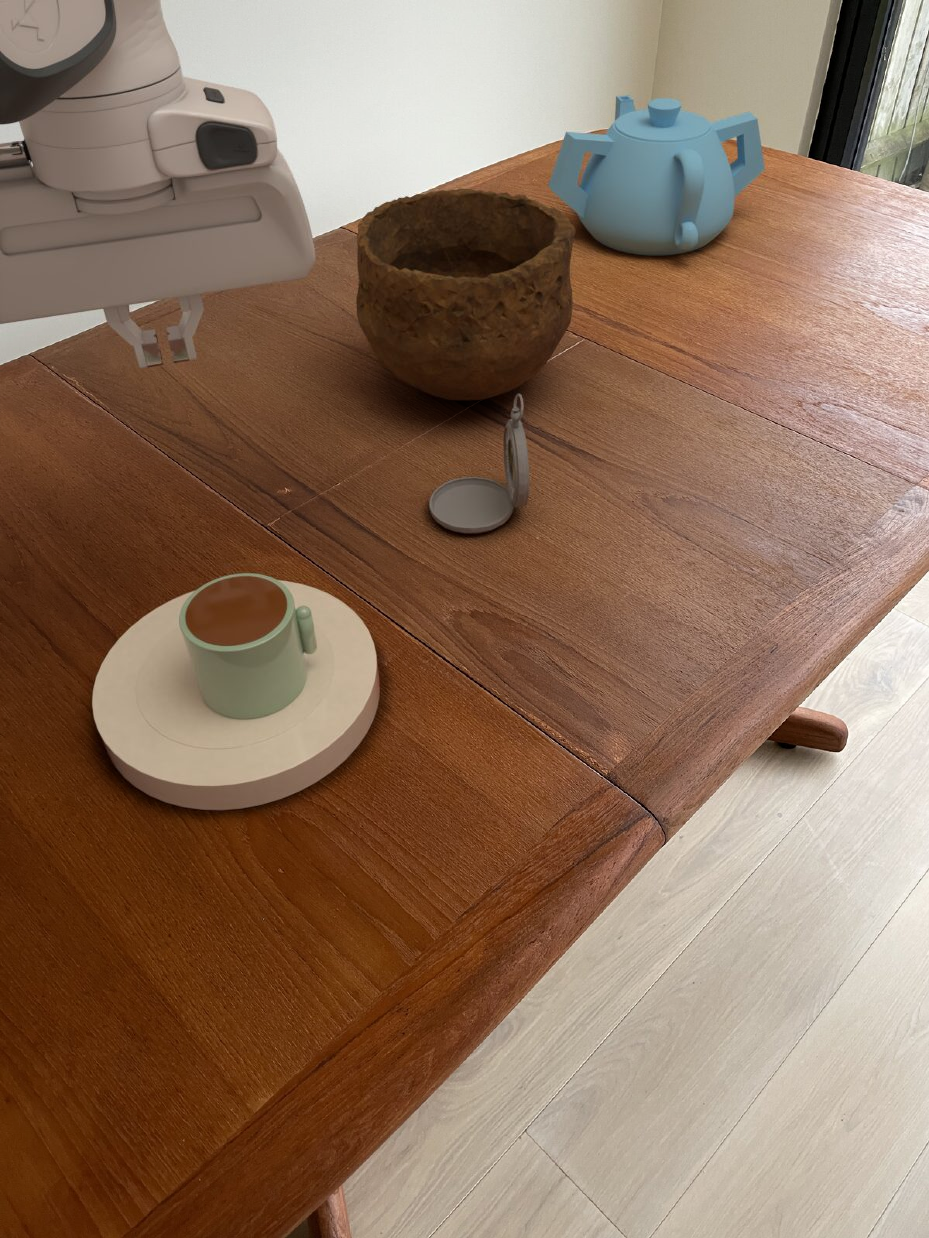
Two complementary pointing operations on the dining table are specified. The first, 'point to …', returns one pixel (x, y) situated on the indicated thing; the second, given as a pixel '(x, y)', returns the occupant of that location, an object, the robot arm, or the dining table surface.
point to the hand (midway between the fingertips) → (168, 360)
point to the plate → (227, 747)
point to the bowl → (464, 289)
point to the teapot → (657, 177)
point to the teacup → (247, 644)
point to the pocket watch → (487, 488)
